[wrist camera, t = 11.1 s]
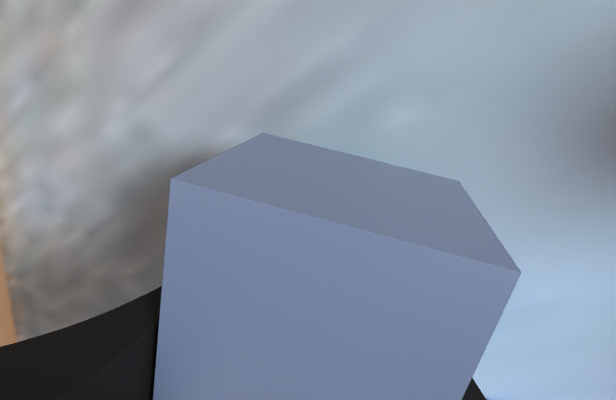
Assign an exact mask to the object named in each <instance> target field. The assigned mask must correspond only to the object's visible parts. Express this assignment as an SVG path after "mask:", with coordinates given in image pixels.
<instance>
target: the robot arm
mask: <svg viewBox="0 0 616 400" xmlns="http://www.w3.org/2000/svg"><path fill="white" fill-rule="evenodd" d="M161 293H162V286H161V287H159V288H157V289H156V290H154V291H152V292H150V293H148V294H146V295H144V296H141V297H139V298H137V299H135V300H133V301H131V302H128V303H126V304H124V305H122V306H120V307H118V308H115V309H113V310H111V311H108V312H106V313H104V314H101V315H99V316H96V317H94V318H91V319H88V320H86V321H83V322H80V323H77V324H75V325H72V326H69V327H66V328H63V329H60V330H57V331H54V332H50V333H47V334H44V335H40V336H37V337H34V338H31V339H27V340H24V341H21V342H17V343H14V344H10V345H6V346H2V347H0V400H153V392H154V380H155V368H156V355H157V343H158V330H159V318H160V305H161ZM462 400H486V399H485V397H484V395H483V394H482V392H481V391H480V389H479V388H478V386H477V385H476V383H475V381H474V380H473V378H472V379H471V381H470V383H469V385H468V387H467V389H466V391H465V393H464V396H463V398H462Z"/></svg>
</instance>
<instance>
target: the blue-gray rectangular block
mask: <svg viewBox="0 0 616 400" xmlns="http://www.w3.org/2000/svg"><path fill="white" fill-rule="evenodd" d="M520 274H521V271H520V270H519V268H518V267H517V265H516V264H515V263H514V261H513V260H512V258H511V257H510V255H509V254H508V252H507V251H506V249H505V248H504V246H503V245H502V244H501V242H500V241H499V239H498V238H497V236H496V235H495V233H494V232H493V230H492V229H491V227H490V226H489V225H488V223H487V222H486V220H485V219H484V217H483V216H482V214H481V213H480V211H479V210H478V209H477V207H476V206H475V204H474V203H473V201H472V200H471V198H470V197H469V195H468V194H467V192H466V191H465V190H464V188H463V187H462V185H461V184H460V182H459V181H455V180H451V179H447V178H443V177H439V176H435V175H431V174H427V173H423V172H419V171H415V170H411V169H407V168H403V167H399V166H394V165H390V164H386V163H382V162H378V161H374V160H370V159H366V158H362V157H358V156H354V155H350V154H346V153H342V152H338V151H334V150H330V149H326V148H322V147H318V146H314V145H310V144H305V143H301V142H297V141H293V140H289V139H285V138H281V137H277V136H273V135H269V134H265V133H262V134H260V135H258V136H256V137H254V138H252V139H250V140H248V141H246V142H244V143H242V144H240V145H237V146H235V147H233V148H231V149H229V150H227V151H225V152H223V153H221V154H219V155H217V156H215V157H213V158H211V159H209V160H207V161H205V162H203V163H201V164H199V165H197V166H195V167H193V168H191V169H189V170H187V171H185V172H182V173H180V174H178V175H176V176H174V177H172V178H171V181H170V193H169V206H168V218H167V231H166V243H165V256H164V268H163V280H162V293H161V305H160V318H159V330H158V343H157V355H156V368H155V380H154V392H153V400H462V398H463V396H464V393H465V391H466V389H467V387H468V385H469V383H470V381H471V379H472V376H473V374H474V372H475V370H476V368H477V366H478V364H479V362H480V359H481V357H482V355H483V353H484V351H485V349H486V347H487V344H488V342H489V340H490V338H491V336H492V334H493V332H494V330H495V327H496V325H497V323H498V321H499V319H500V317H501V315H502V313H503V310H504V308H505V306H506V304H507V302H508V300H509V298H510V296H511V293H512V291H513V289H514V287H515V285H516V283H517V281H518V279H519V276H520Z"/></svg>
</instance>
